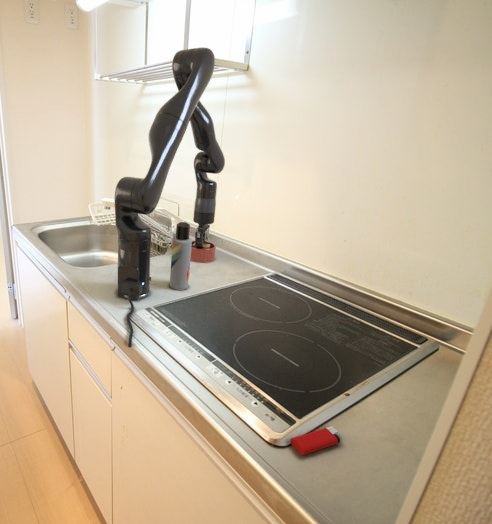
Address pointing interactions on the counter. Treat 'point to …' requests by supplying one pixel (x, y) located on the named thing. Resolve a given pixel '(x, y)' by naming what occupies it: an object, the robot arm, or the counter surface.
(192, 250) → the bowl
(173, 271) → the lotion bottle
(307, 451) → the lighter
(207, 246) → the eraser
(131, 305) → the robot arm
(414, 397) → the counter surface
